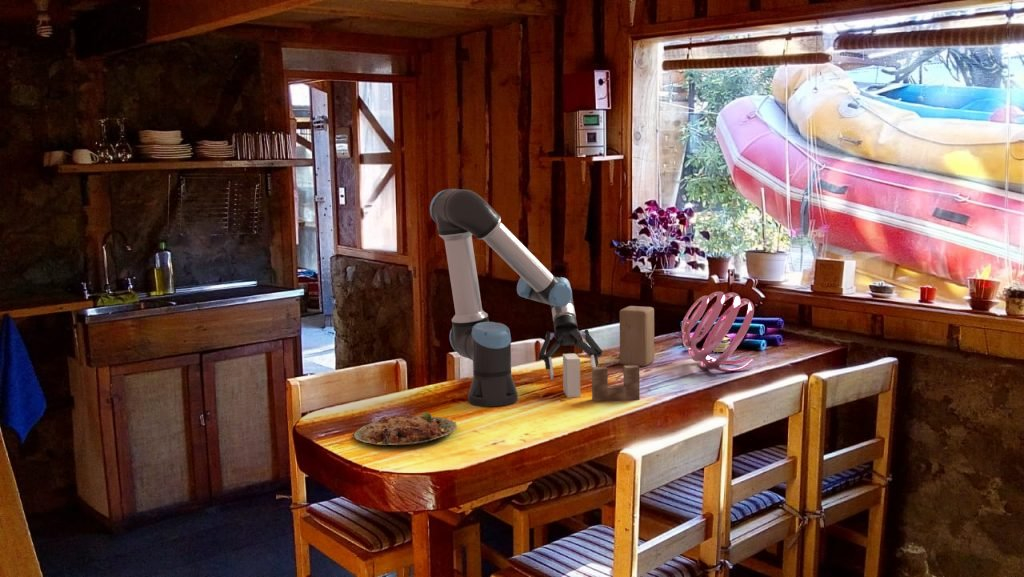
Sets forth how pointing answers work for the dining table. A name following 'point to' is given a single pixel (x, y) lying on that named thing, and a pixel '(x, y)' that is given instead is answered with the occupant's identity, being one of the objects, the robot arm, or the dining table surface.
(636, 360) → the wooden block
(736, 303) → the pink openwork looped piece
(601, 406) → the dining table surface
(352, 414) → the dining table surface
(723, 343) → the stacked layers on plate
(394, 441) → the rice dish
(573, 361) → the cream plate
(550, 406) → the dining table surface
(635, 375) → the slotted walnut plate
